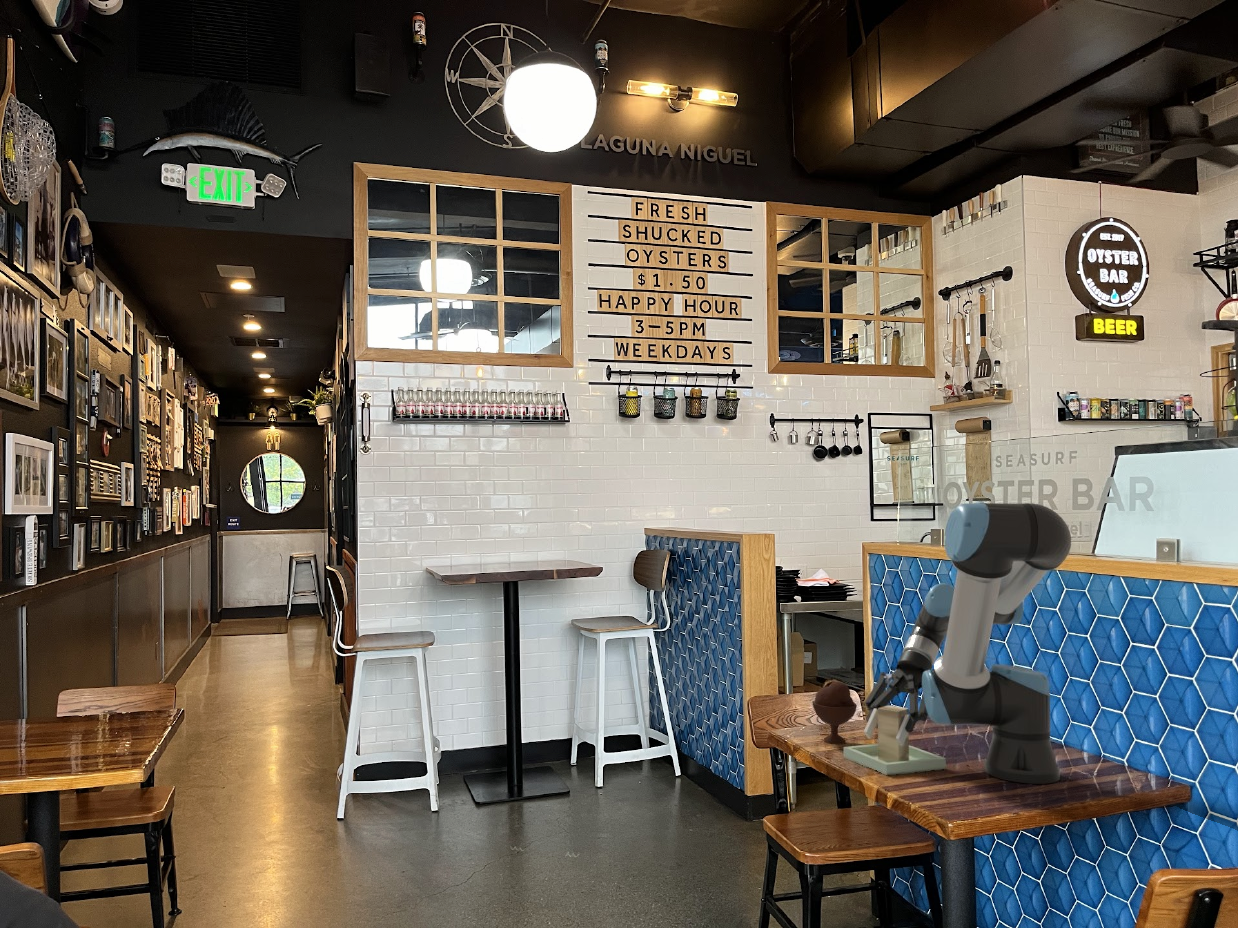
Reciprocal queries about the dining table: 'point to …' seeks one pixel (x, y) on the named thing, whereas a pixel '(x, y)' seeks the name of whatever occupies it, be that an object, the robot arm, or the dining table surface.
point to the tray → (916, 763)
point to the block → (891, 734)
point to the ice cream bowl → (834, 708)
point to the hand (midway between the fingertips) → (883, 738)
